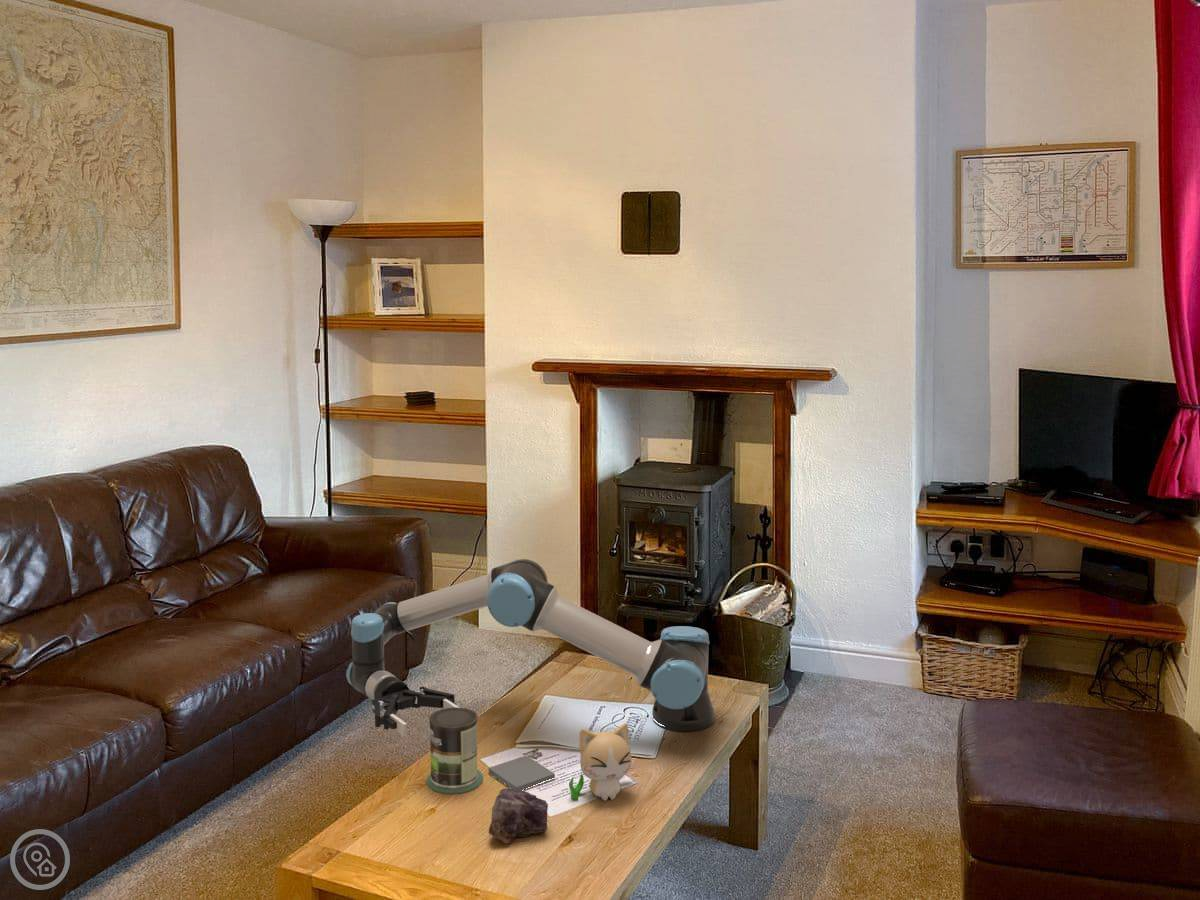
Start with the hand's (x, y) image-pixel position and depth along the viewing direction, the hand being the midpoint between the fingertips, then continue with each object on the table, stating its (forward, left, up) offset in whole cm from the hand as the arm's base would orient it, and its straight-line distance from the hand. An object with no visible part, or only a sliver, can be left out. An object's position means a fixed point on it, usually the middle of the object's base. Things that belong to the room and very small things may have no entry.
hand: (433, 722), depth 248 cm
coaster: (-9, +2, -10) cm, 14 cm away
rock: (-33, +10, -11) cm, 36 cm away
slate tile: (-14, -9, -10) cm, 19 cm away
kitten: (-38, -13, -11) cm, 41 cm away
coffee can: (-9, +2, -10) cm, 13 cm away
